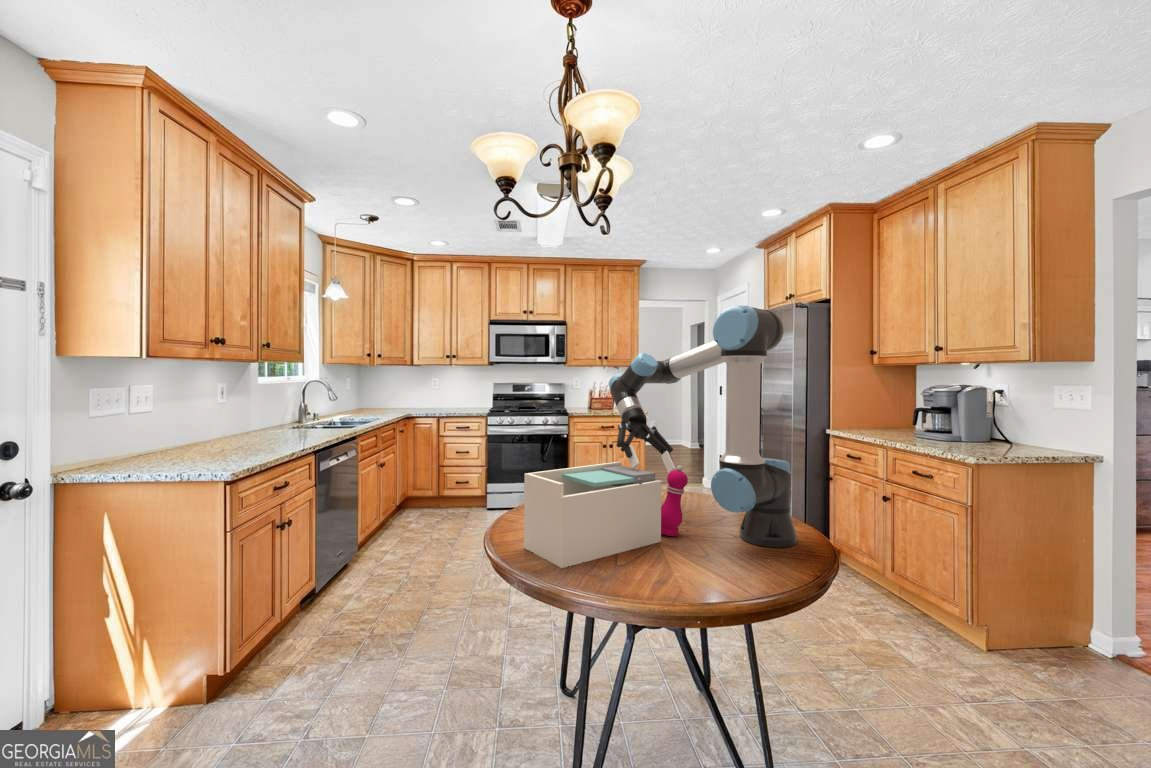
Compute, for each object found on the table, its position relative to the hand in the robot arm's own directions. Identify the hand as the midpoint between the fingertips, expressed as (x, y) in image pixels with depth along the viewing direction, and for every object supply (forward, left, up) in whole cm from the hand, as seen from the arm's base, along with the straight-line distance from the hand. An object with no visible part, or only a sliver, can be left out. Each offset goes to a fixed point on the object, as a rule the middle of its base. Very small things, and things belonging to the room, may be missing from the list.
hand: (654, 469), depth 149 cm
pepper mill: (-3, -3, -19) cm, 19 cm away
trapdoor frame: (+2, +21, -19) cm, 28 cm away
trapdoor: (+2, +15, -4) cm, 16 cm away
